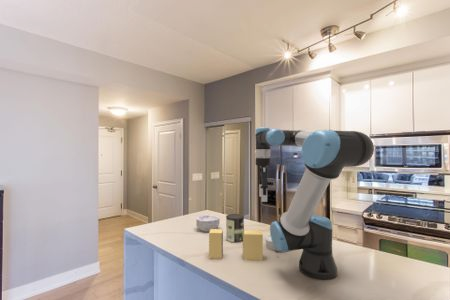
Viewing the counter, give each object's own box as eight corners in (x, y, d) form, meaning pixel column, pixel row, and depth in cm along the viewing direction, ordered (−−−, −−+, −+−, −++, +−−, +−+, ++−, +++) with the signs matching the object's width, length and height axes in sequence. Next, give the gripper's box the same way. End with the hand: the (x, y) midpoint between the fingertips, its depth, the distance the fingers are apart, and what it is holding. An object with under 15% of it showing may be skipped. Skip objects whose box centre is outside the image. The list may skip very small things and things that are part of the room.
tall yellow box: (261, 255, 113) (261, 230, 113) (262, 260, 107) (262, 234, 107) (242, 254, 113) (242, 230, 113) (243, 260, 108) (242, 233, 108)
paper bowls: (206, 224, 163) (206, 213, 164) (224, 228, 155) (224, 216, 155) (191, 230, 151) (191, 218, 151) (209, 235, 142) (209, 222, 142)
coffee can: (245, 238, 137) (244, 214, 138) (242, 244, 127) (242, 219, 127) (228, 236, 139) (227, 213, 140) (224, 243, 129) (224, 218, 129)
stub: (222, 253, 114) (222, 229, 114) (221, 258, 108) (221, 233, 109) (210, 253, 114) (210, 229, 114) (209, 258, 109) (209, 232, 109)
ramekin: (261, 248, 122) (261, 238, 122) (272, 242, 130) (272, 233, 131) (280, 254, 115) (280, 244, 115) (290, 248, 123) (290, 238, 123)
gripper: (254, 157, 132) (254, 194, 132) (257, 158, 107) (257, 203, 107) (267, 157, 132) (267, 194, 131) (273, 158, 107) (273, 204, 107)
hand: (263, 198), depth 119 cm, fingers open, 13 cm apart
